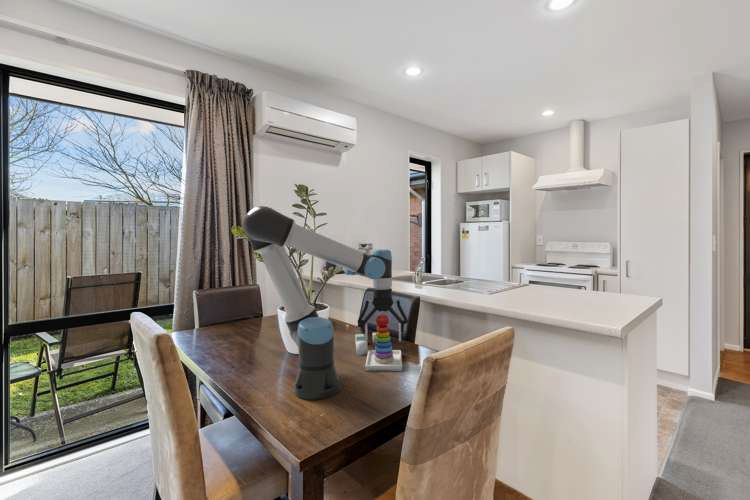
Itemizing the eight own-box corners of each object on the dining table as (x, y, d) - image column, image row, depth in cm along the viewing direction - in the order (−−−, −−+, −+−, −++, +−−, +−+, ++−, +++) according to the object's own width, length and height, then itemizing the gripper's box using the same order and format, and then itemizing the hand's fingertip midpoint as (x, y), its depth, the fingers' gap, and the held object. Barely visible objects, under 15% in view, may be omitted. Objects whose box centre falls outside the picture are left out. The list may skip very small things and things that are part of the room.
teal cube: (356, 345, 167) (356, 336, 167) (355, 342, 171) (355, 334, 170) (365, 344, 168) (364, 336, 167) (363, 342, 171) (363, 333, 171)
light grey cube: (355, 355, 153) (355, 344, 152) (356, 351, 158) (356, 340, 157) (367, 355, 152) (366, 343, 152) (367, 351, 157) (367, 340, 157)
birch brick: (373, 343, 169) (373, 334, 169) (372, 340, 173) (372, 332, 173) (385, 342, 170) (385, 334, 170) (384, 340, 174) (384, 332, 174)
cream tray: (365, 371, 135) (365, 365, 135) (368, 354, 153) (368, 350, 153) (402, 371, 134) (402, 365, 134) (400, 354, 152) (400, 350, 152)
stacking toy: (394, 357, 147) (393, 312, 146) (393, 364, 139) (392, 317, 138) (375, 356, 148) (374, 312, 147) (373, 363, 140) (372, 316, 139)
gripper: (413, 286, 145) (413, 337, 146) (352, 286, 146) (353, 337, 147) (414, 289, 138) (414, 343, 139) (350, 289, 139) (351, 342, 140)
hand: (383, 340), depth 143 cm, fingers open, 13 cm apart
